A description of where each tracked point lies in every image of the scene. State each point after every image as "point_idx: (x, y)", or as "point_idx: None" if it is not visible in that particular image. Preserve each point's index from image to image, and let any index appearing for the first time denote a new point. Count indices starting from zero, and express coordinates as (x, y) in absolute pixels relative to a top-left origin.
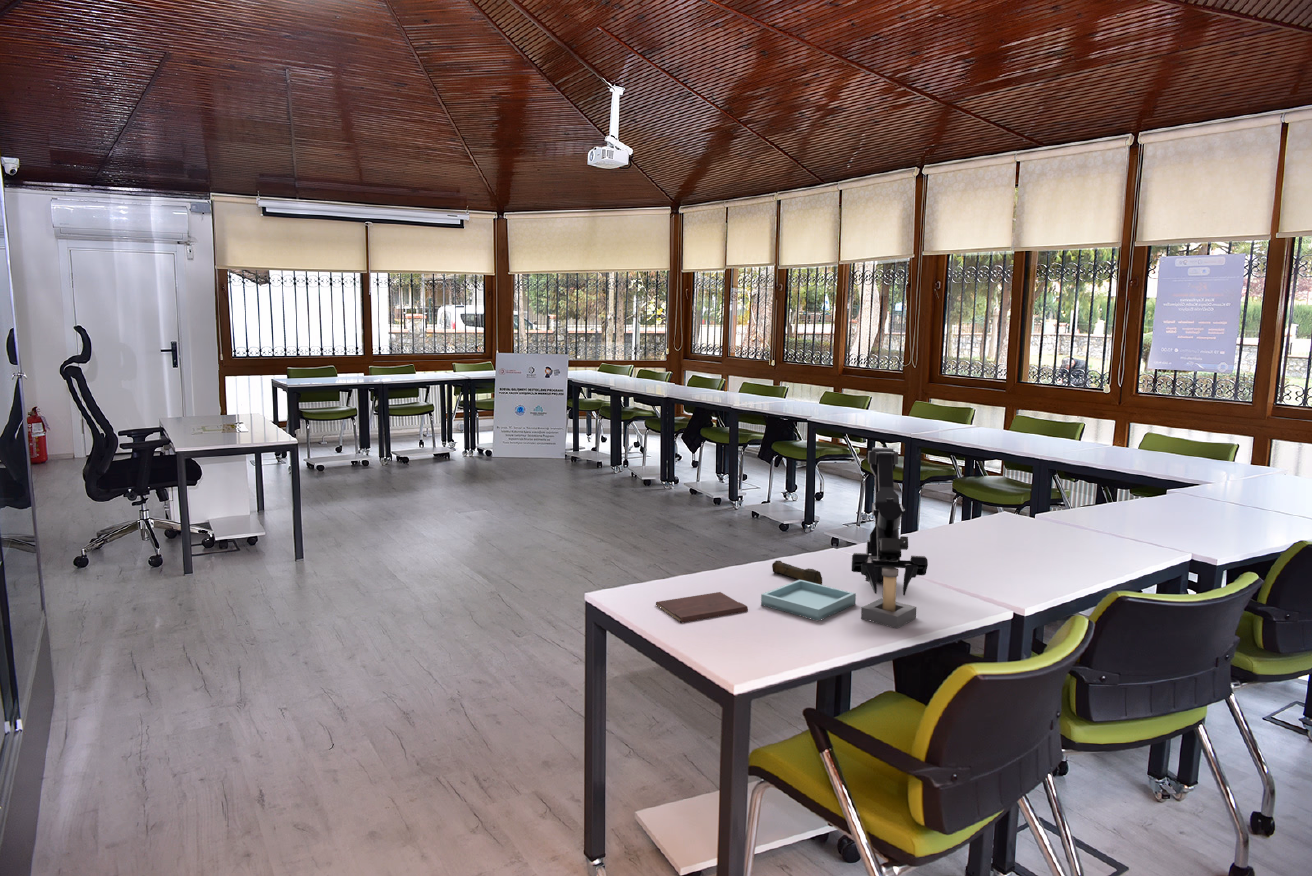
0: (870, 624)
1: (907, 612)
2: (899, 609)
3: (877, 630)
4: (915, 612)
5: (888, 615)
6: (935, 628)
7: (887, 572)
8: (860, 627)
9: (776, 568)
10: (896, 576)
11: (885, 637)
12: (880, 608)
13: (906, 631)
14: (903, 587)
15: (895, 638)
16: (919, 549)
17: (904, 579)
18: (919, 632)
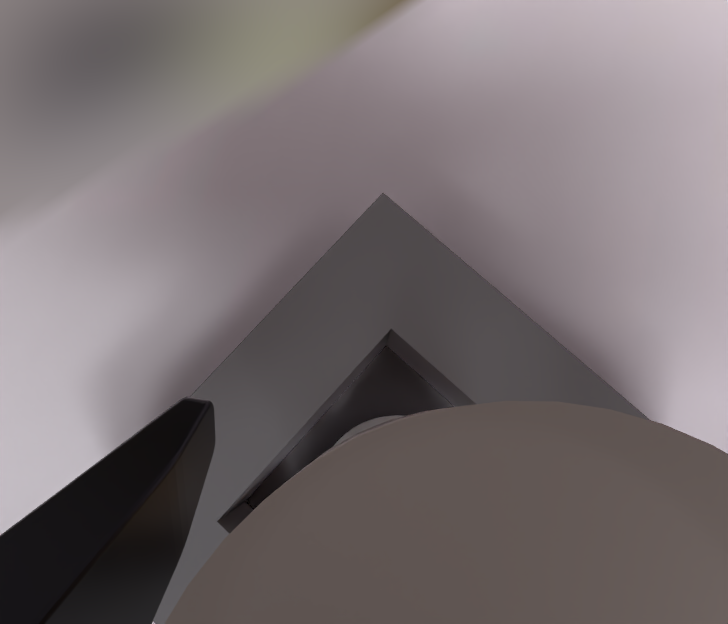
0: (595, 328)
1: (227, 361)
2: (299, 425)
3: (557, 185)
4: None
5: (461, 261)
6: (41, 243)
7: (708, 469)
8: (695, 252)
9: None
10: (308, 464)
11: (520, 39)
12: None
13: (316, 168)
14: (170, 470)
15: (445, 21)
16: None
17: (46, 611)
18: (213, 148)
